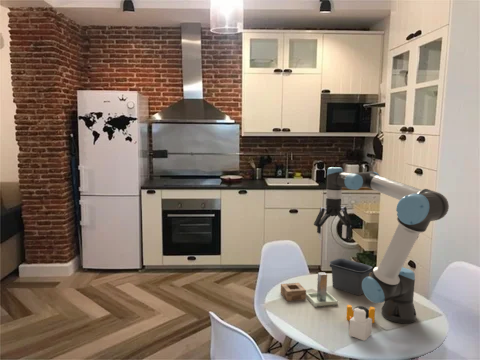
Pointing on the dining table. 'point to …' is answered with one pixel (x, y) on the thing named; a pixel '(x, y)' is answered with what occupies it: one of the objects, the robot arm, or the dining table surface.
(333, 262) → the storage bin
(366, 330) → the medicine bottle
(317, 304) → the tray
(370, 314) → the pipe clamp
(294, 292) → the hollow wooden square
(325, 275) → the grey wooden beam
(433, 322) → the dining table surface
